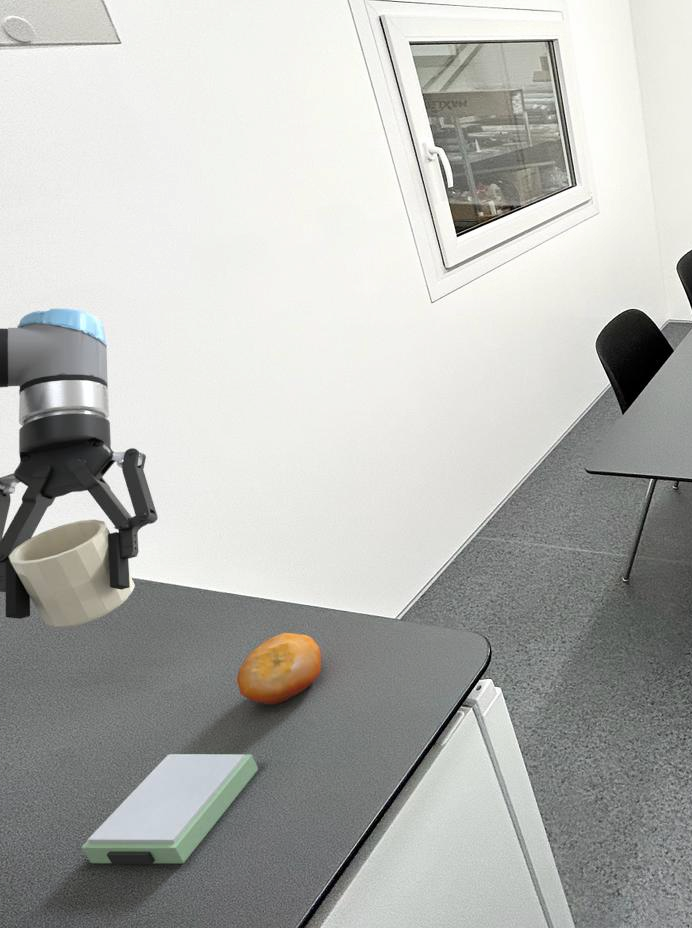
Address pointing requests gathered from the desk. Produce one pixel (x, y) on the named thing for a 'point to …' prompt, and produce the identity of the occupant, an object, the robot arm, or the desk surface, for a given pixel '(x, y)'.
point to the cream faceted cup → (69, 573)
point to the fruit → (279, 668)
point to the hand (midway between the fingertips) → (70, 601)
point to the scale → (171, 809)
